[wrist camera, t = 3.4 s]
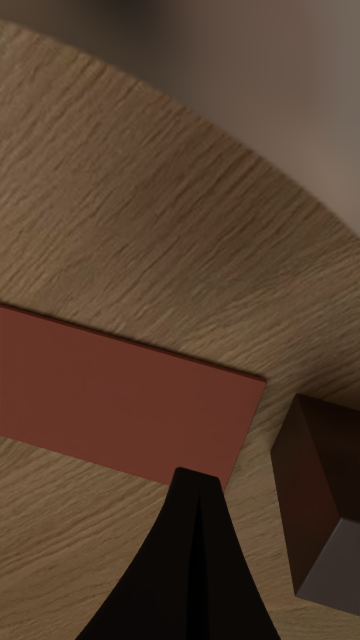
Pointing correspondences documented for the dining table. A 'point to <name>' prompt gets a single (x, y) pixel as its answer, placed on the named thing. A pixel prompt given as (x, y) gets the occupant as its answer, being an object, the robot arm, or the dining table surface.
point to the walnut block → (321, 500)
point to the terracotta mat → (120, 400)
